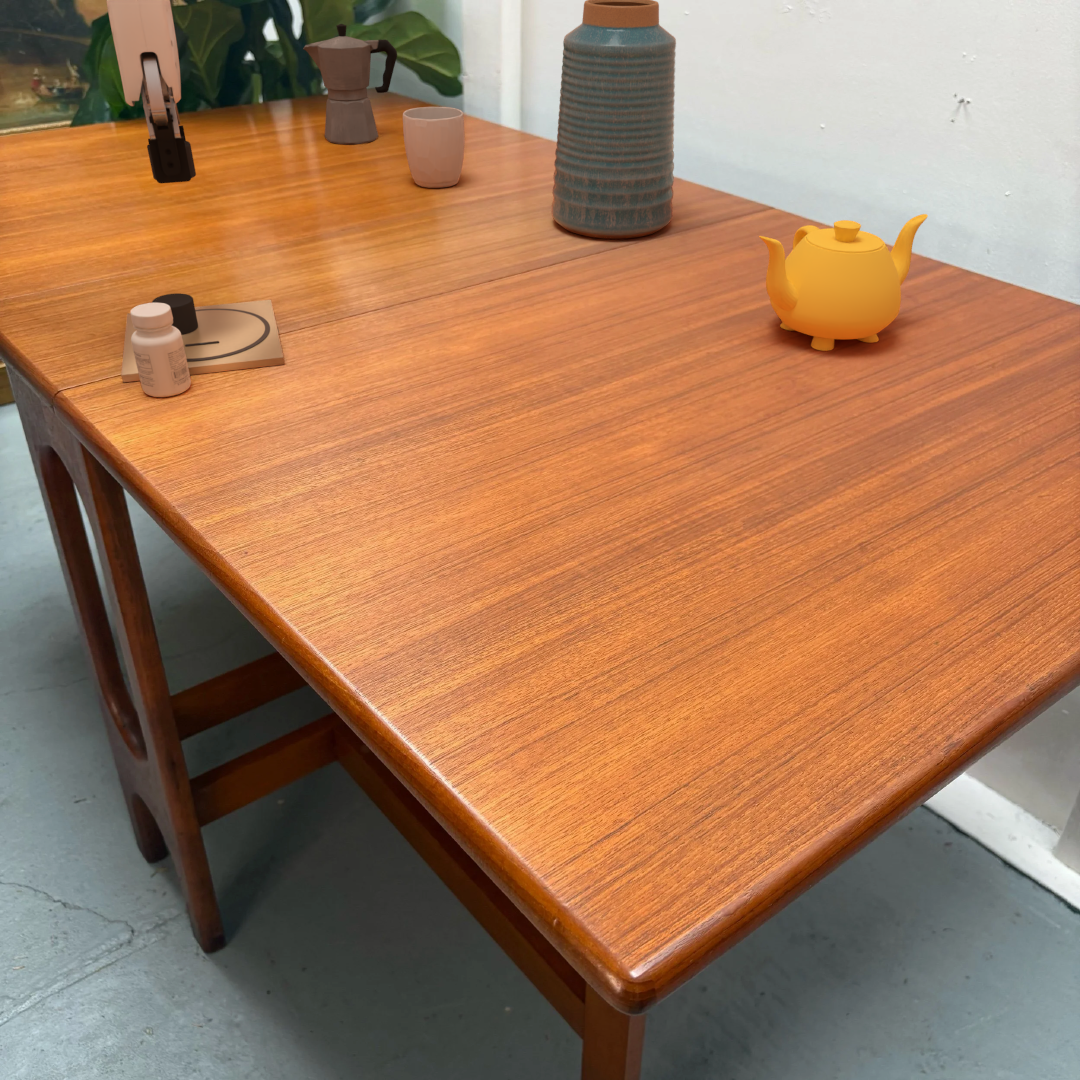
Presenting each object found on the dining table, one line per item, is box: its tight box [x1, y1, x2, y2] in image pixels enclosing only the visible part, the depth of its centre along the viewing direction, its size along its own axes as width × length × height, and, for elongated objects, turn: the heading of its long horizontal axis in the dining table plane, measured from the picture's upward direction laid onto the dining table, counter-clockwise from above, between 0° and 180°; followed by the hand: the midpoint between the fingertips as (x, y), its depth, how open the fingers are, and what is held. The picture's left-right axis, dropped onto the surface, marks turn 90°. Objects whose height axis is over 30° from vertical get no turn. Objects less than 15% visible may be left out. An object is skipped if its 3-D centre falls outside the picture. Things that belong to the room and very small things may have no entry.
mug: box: [402, 106, 466, 189], centre depth 153 cm, size 13×9×10 cm
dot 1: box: [146, 140, 197, 181], centre depth 99 cm, size 4×4×3 cm
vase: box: [550, 0, 677, 240], centre depth 131 cm, size 16×16×27 cm
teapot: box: [758, 213, 929, 352], centre depth 105 cm, size 20×15×12 cm
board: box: [120, 299, 286, 383], centre depth 104 cm, size 15×16×1 cm
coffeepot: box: [303, 23, 398, 145], centre depth 173 cm, size 15×9×18 cm, turn 95°
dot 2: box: [151, 292, 198, 335], centre depth 104 cm, size 4×4×3 cm
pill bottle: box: [129, 302, 192, 398], centre depth 93 cm, size 4×4×8 cm
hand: (173, 173), depth 99 cm, fingers closed on dot 1, 4 cm apart
